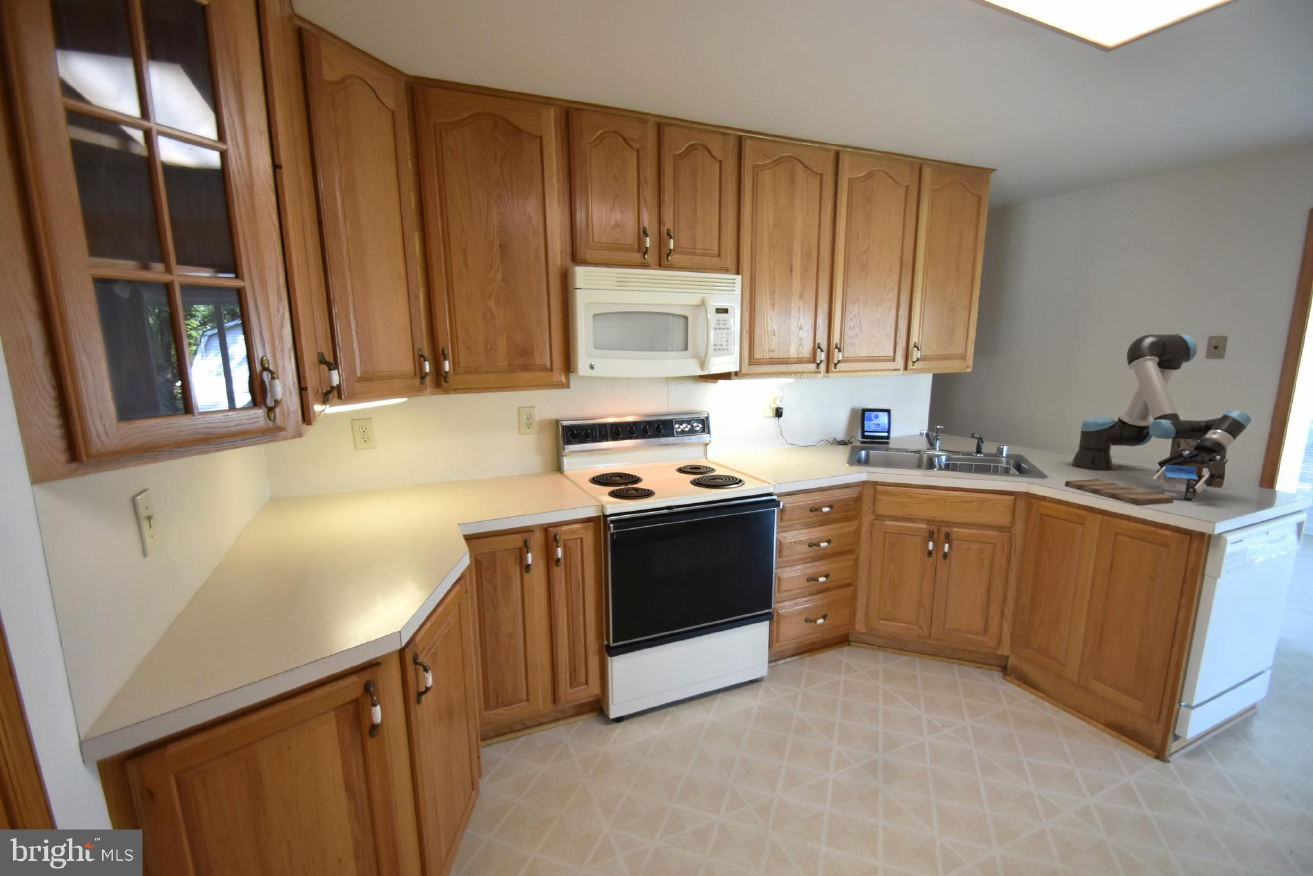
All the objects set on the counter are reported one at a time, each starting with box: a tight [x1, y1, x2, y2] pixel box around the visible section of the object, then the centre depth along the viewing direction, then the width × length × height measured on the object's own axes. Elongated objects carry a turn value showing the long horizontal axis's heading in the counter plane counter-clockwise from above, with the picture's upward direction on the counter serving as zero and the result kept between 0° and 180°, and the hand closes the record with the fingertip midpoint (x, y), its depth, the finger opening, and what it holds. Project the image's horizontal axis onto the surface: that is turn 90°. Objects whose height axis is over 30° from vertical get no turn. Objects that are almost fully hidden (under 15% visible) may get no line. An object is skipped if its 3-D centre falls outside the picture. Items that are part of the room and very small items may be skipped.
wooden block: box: [1188, 448, 1228, 488], centre depth 219 cm, size 4×11×18 cm, turn 16°
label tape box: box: [1160, 465, 1198, 502], centre depth 199 cm, size 9×4×12 cm, turn 59°
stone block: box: [1169, 439, 1199, 471], centre depth 234 cm, size 13×7×20 cm, turn 153°
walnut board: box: [1064, 478, 1175, 506], centre depth 206 cm, size 28×16×2 cm, turn 12°
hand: (1175, 485), depth 199 cm, fingers open, 13 cm apart
